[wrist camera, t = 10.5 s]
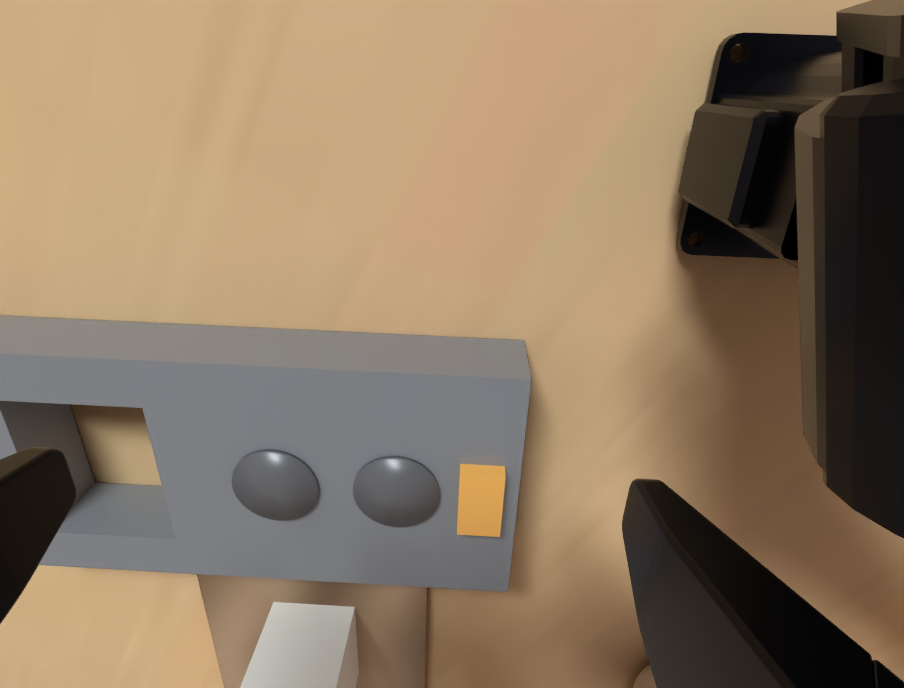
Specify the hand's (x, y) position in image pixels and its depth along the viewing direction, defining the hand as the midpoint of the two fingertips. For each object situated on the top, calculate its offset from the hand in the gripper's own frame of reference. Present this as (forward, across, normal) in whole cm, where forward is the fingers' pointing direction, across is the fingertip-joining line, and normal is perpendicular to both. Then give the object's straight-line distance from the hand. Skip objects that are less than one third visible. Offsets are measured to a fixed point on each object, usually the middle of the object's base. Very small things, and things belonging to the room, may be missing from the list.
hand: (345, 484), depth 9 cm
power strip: (+12, +7, +8) cm, 16 cm away
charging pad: (+12, +5, +20) cm, 24 cm away
